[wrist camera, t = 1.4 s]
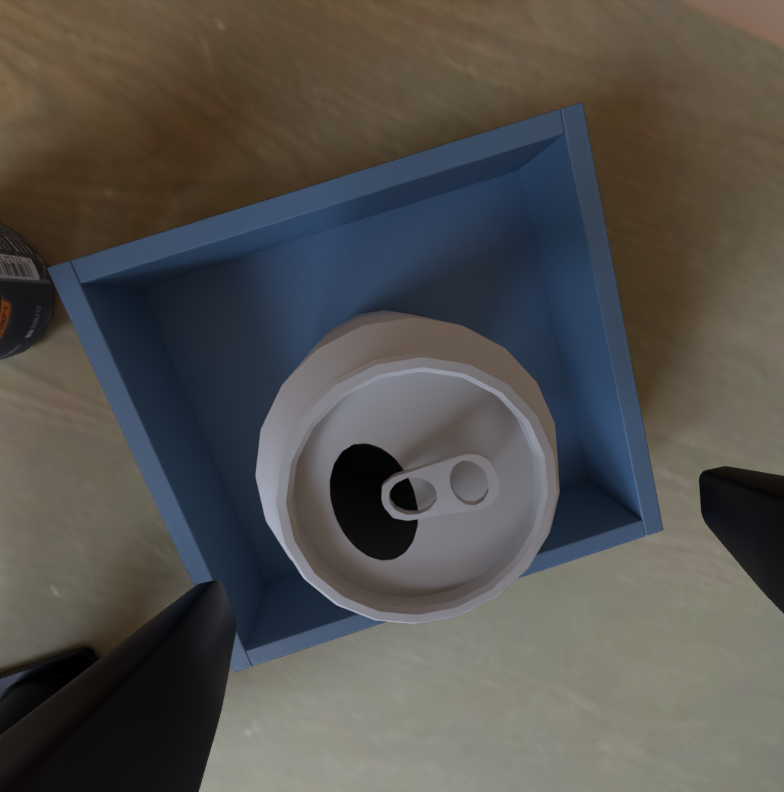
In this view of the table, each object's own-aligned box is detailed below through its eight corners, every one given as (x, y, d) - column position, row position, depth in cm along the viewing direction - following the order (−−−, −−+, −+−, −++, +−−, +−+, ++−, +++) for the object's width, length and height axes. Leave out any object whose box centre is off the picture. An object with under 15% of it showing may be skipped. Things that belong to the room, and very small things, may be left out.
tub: (257, 597, 23) (233, 672, 18) (119, 275, 20) (45, 267, 15) (602, 485, 24) (664, 530, 19) (528, 148, 20) (583, 101, 15)
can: (277, 339, 20) (176, 392, 9) (436, 287, 20) (549, 269, 9) (333, 487, 22) (312, 700, 10) (480, 438, 22) (624, 593, 10)
